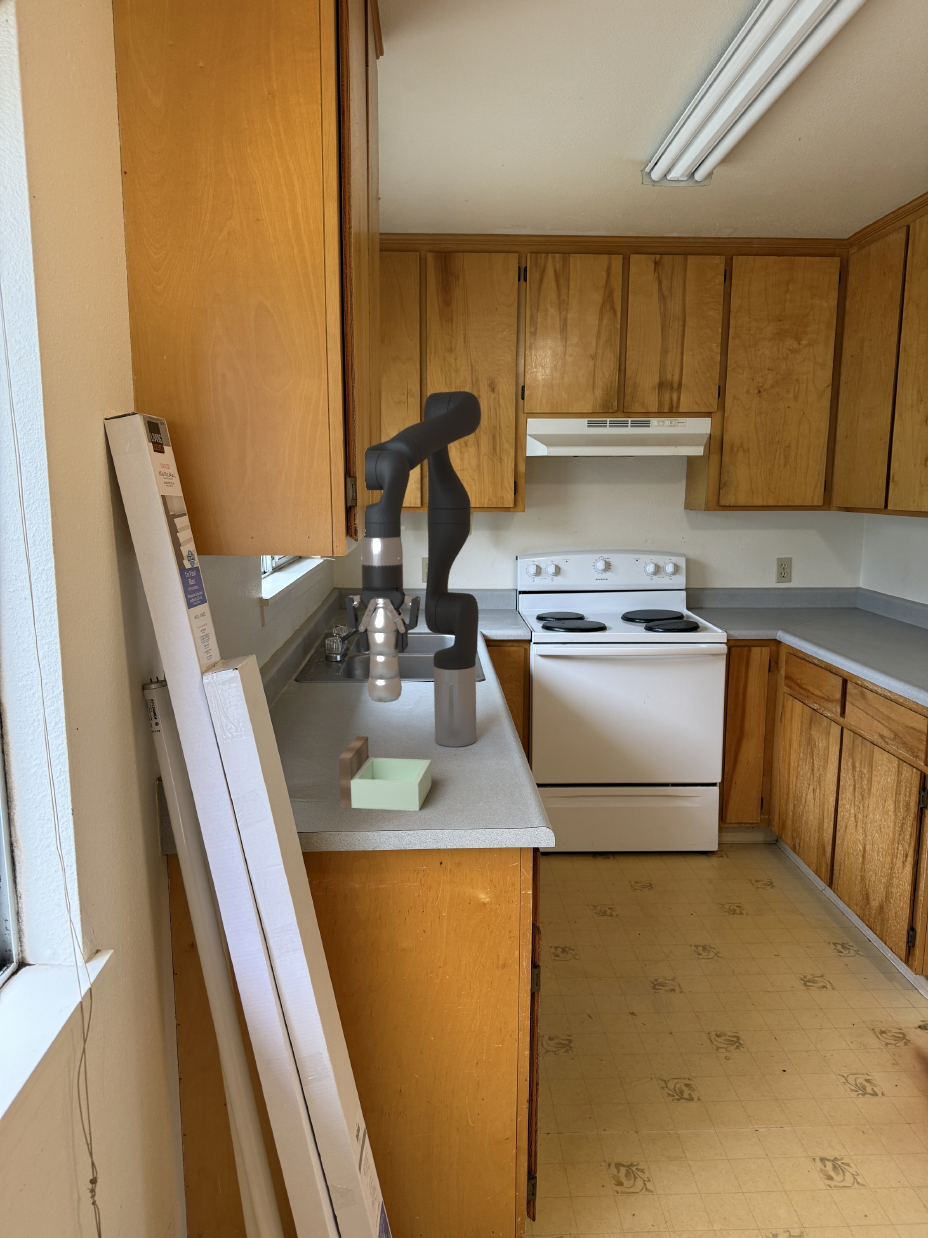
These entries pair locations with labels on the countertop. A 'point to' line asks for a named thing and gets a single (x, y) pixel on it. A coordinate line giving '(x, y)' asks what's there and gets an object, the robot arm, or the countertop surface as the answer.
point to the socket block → (391, 784)
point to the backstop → (351, 767)
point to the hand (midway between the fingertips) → (383, 651)
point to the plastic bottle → (383, 655)
